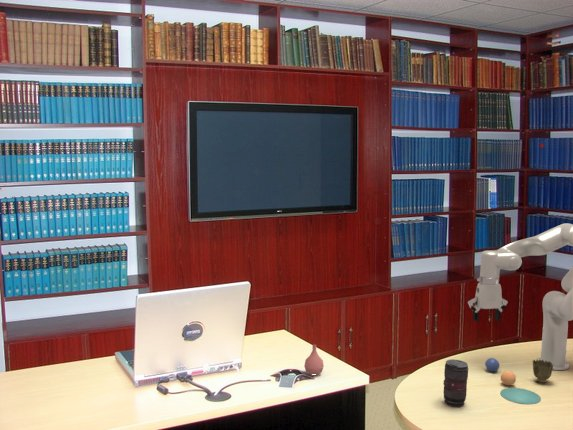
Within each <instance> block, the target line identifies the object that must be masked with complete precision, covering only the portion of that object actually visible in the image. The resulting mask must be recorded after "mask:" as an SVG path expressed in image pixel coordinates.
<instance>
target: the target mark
mask: <svg viewBox="0 0 573 430" xmlns="http://www.w3.org/2000/svg"><path fill="white" fill-rule="evenodd" d="M499 394H500V396H501V397H502V398H503V399H505V400H507V401H509V402H513V403H516V404H521V405H535V404H538V403H540V402H541V400H542V398H541V396H540V395H539V394H538V393H536V392H534V391H532V390H530V389H529V390H528V389H525V388H520V387H508V388H502V389H501V390H500V393H499Z"/></svg>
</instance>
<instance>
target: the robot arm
mask: <svg viewBox="0 0 573 430" xmlns="http://www.w3.org/2000/svg"><path fill="white" fill-rule="evenodd" d="M566 246H571V247H573V224H572V223H566V222H565V223H562V224H560V225H557V226H555V227H551V228H550V229H548V230H545V231H544V232H543V231H542V232H541V233H539V234H536V235H535V236H531V237H527V238H526V237H525V238H523V239H520V240H515V241H513V242H511V243H508V244H506V245H504V246H502V247H500V248H498V249H497V250H482V252H481V255H480V270H479V271H480V272H479V277H477V278H476V281H477V282H478V283H477V286H476V290H475V297H474V298H471V299H470V300H468V301H467V304H468V306H469V308H470V309H471V311H472V319H473V321H474V322H475V323H479V321H480V313H479V311H480V310H481V309H482V310H489V309H493V310H494V309H495V311H494V320H495V321H497V322H501V318H502V312H503V310H505V308H506V306H507V304H508V303H509V302H508V300H506V299H505V298H503V295H502V293H503V292H502V286H501V284H500V283H499V282H500V272H501V270H504V271H516V270H519V268H520V267H521V266H522V264H523V261H522V260H523V259H522V258H524V257H529V256H545V255H548V254H550V253H552V252H554V251H557V250H559V249H561V248H563V247H566ZM560 282H561V284H560V285H561V288H562V290H564V291H565V292H566V294H565V293H564V292H561V291H557V290H552V291H548V292H547V293H546V294H545V295H544V296H543V299H542V312H543V313H542V314H543V315H542V316H543V323H542V326H543V327H542V335H541V336H542V337H541V349H540V350H541V351H540V357H539V358H537V359H536V360H538V361H539V360H541V361H542V360H543V361H544V362H545V361H546V360H547V362H549V361H550V362H551V363H552V365H553V369H552V371H553V370H554V371H565V370H568V369H569V368H570V363H568V362H567V361H566V359H567V357H566V354H567V343H568V331H569V329H568V328H569V321H570V322H571V321H573V266H571V268H570V269H569V271H567V273H565V275H564V276H563V278H562V280H561V281H560Z"/></svg>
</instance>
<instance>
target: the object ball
mask: <svg viewBox="0 0 573 430" xmlns="http://www.w3.org/2000/svg"><path fill="white" fill-rule="evenodd" d="M516 380H517V379H516V375H515V373H514V372H512V371H510V370H504V371H503V372H502V373H501V375H500V381H501V382H502V384H503V385H505V386H513V385H514V384H515V383H516Z"/></svg>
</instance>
